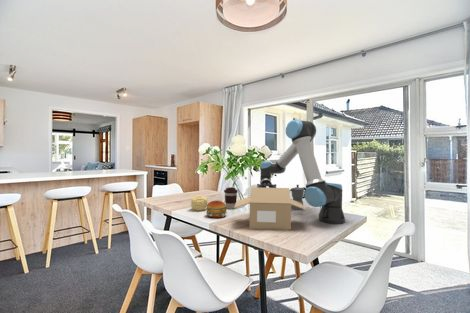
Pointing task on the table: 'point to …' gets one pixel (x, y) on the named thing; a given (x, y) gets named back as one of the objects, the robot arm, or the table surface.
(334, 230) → the table surface
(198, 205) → the sculpture
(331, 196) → the robot arm
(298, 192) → the coffeepot
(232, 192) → the coffee cup
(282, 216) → the carton
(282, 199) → the near flap
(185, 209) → the table surface
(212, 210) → the burger
